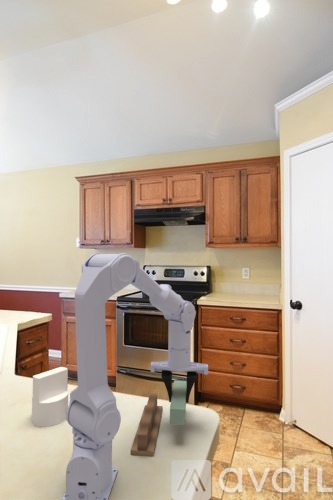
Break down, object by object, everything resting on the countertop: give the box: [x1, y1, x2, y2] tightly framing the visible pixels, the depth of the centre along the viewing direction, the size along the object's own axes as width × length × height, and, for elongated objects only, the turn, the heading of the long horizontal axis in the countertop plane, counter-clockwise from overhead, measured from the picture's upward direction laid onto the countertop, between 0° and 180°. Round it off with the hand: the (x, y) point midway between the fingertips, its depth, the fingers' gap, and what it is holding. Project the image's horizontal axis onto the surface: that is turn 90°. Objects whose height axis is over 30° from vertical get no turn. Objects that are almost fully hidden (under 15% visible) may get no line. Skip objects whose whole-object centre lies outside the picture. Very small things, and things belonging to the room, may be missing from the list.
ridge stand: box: [130, 392, 164, 457], centre depth 76 cm, size 20×5×4 cm, turn 175°
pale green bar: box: [169, 380, 187, 426], centre depth 78 cm, size 16×4×4 cm, turn 175°
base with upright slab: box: [31, 366, 69, 428], centre depth 81 cm, size 9×9×12 cm
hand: (178, 400), depth 77 cm, fingers closed on pale green bar, 3 cm apart
